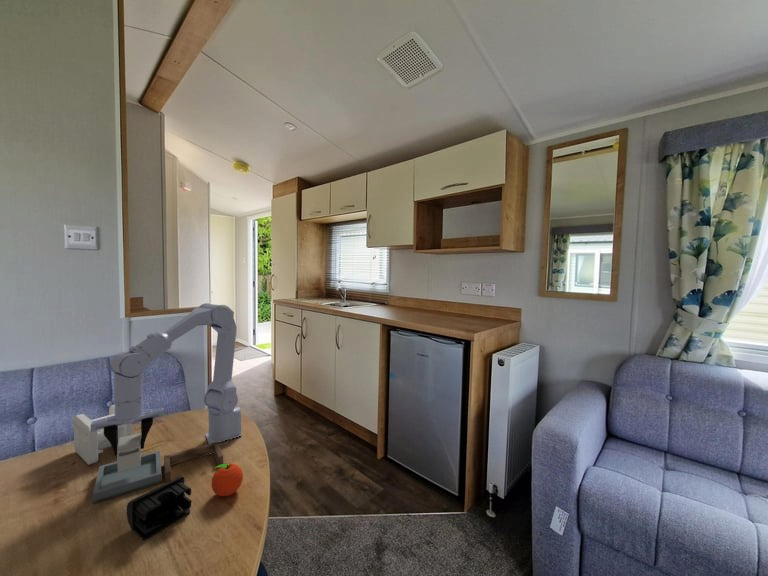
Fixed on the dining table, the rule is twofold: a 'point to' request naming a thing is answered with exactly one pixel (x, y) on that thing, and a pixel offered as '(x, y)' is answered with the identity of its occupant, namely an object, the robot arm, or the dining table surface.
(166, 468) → the walnut bay
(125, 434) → the cable organizer
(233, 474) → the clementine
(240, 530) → the dining table surface
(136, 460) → the box
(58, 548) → the dining table surface
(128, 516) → the end cap
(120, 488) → the slate tray
